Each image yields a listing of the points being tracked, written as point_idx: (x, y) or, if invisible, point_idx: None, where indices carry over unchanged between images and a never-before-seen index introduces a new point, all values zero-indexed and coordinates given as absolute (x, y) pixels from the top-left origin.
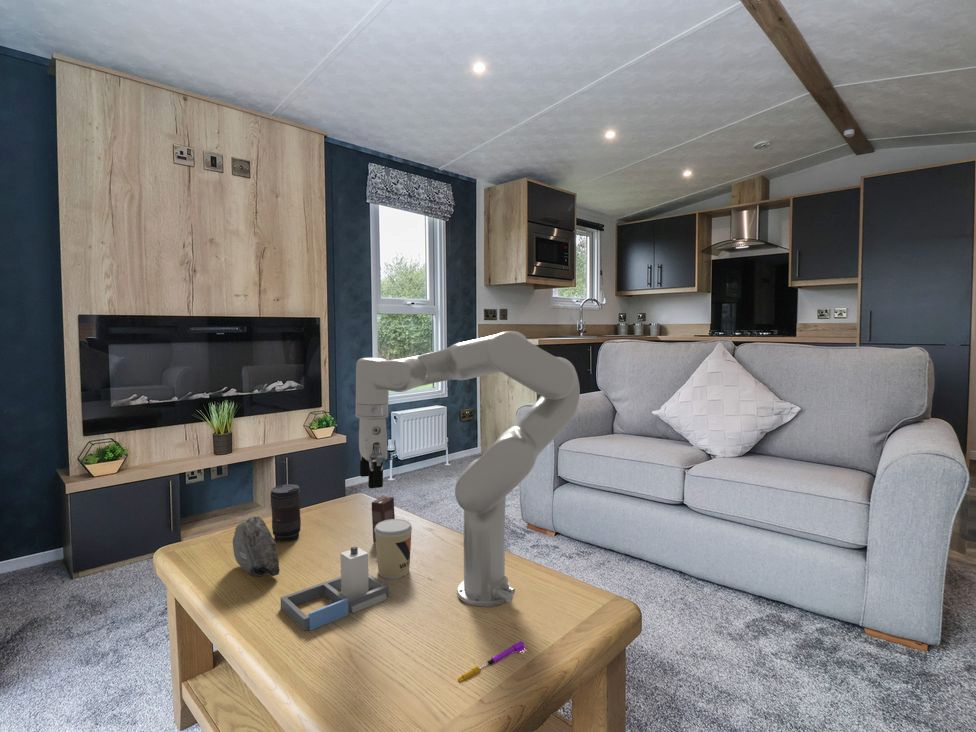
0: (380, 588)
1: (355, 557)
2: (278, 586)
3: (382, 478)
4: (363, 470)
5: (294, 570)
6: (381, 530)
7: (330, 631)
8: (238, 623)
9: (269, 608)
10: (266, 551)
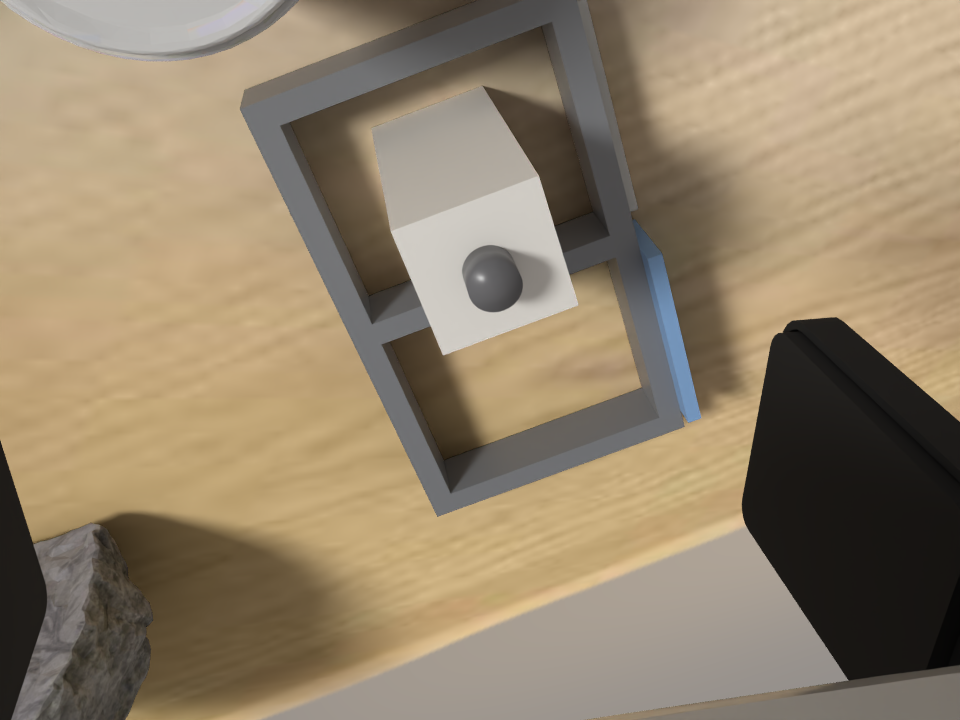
0: (578, 40)
1: (567, 269)
2: (195, 502)
3: (927, 402)
4: (8, 659)
5: (6, 444)
6: (254, 14)
7: (724, 303)
8: (480, 600)
9: (408, 520)
10: (105, 681)
